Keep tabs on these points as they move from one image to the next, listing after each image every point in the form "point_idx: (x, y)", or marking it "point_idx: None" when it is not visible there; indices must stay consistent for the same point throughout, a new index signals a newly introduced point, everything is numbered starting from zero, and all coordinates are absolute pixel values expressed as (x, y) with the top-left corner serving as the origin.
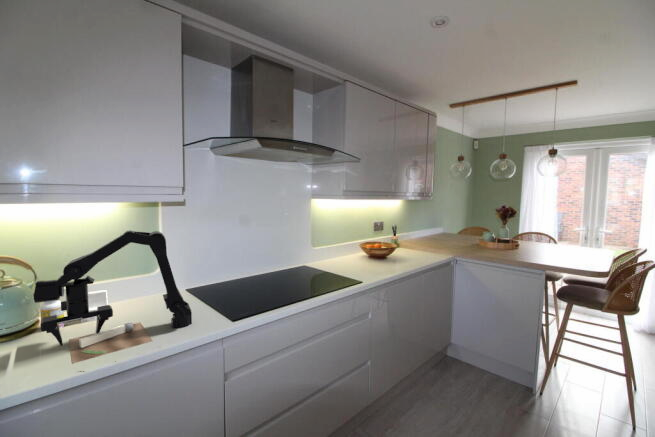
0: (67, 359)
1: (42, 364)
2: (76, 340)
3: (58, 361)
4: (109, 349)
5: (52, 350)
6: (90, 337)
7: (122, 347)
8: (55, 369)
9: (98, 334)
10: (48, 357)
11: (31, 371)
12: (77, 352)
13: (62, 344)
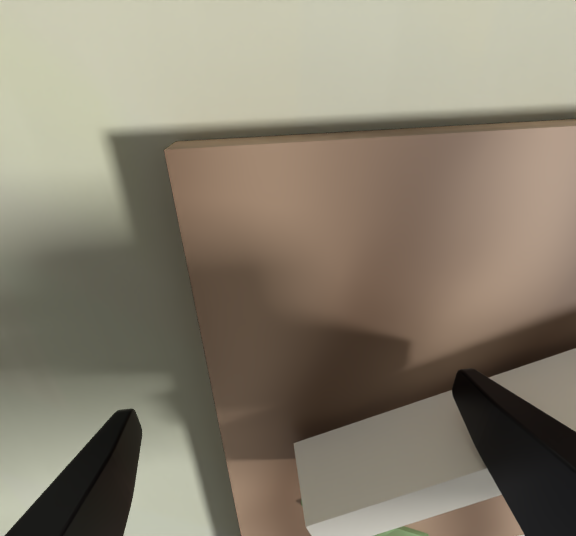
0: (212, 458)
1: (55, 458)
2: (264, 251)
3: (158, 460)
4: (450, 519)
5: (28, 240)
6: (406, 522)
7: (511, 522)
8: (165, 528)
9: (487, 492)
10: (54, 376)
11: (19, 508)
12: (276, 491)
13: (138, 455)
